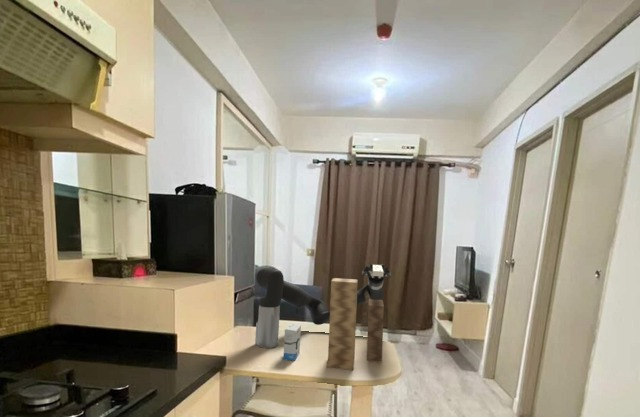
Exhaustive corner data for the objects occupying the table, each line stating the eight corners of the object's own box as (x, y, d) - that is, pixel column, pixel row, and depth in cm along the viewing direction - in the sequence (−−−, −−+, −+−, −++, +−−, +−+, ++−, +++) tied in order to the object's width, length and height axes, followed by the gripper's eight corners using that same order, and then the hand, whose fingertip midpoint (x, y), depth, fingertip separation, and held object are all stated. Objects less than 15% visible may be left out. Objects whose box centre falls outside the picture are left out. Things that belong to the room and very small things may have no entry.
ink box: (294, 361, 133) (296, 330, 133) (282, 359, 134) (284, 329, 134) (300, 353, 141) (301, 324, 142) (288, 351, 142) (290, 323, 143)
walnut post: (366, 360, 137) (368, 305, 138) (367, 349, 149) (368, 299, 150) (381, 361, 136) (383, 306, 137) (380, 350, 148) (382, 300, 149)
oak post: (326, 367, 128) (330, 282, 130) (330, 356, 139) (333, 277, 141) (353, 369, 127) (356, 283, 128) (354, 358, 138) (357, 279, 139)
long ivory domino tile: (373, 275, 136) (373, 270, 136) (372, 269, 157) (372, 264, 157) (383, 276, 135) (383, 271, 135) (381, 269, 157) (381, 265, 157)
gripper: (390, 288, 162) (393, 274, 148) (360, 286, 164) (360, 272, 150) (390, 273, 166) (393, 258, 152) (361, 271, 168) (361, 257, 154)
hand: (377, 265), depth 151 cm, fingers closed on long ivory domino tile, 4 cm apart
